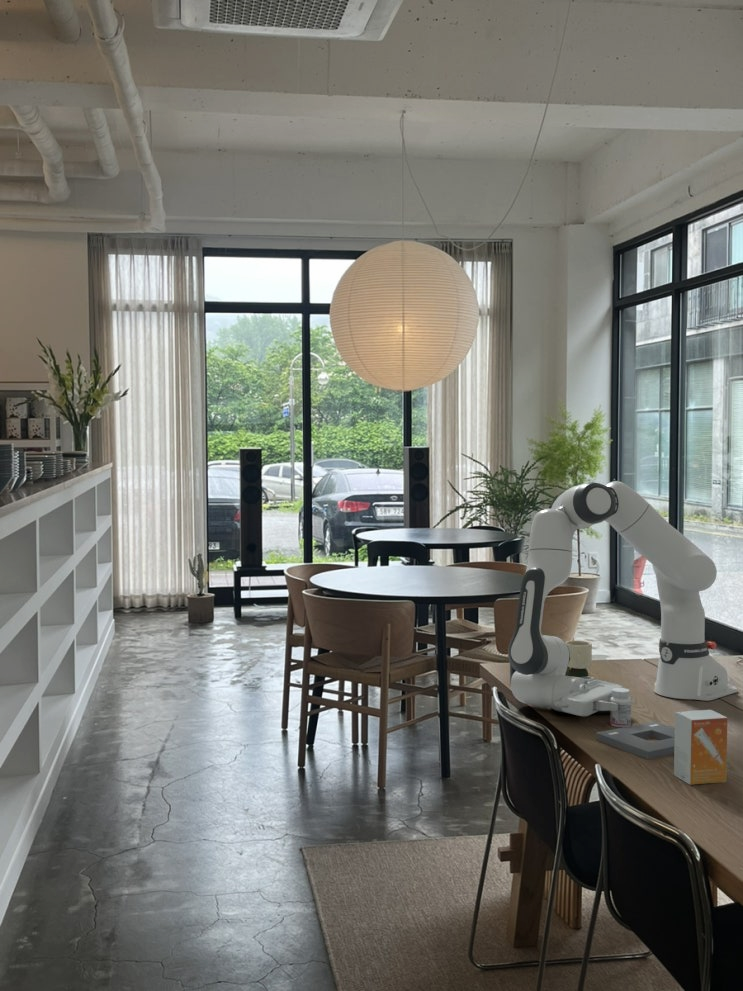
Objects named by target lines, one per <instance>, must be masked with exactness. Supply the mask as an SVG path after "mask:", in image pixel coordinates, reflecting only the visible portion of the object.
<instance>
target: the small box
mask: <svg viewBox="0 0 743 991" xmlns="http://www.w3.org/2000/svg"><path fill="white" fill-rule="evenodd" d="M674 728H675V747H674V754H673V755H674V756H673V757H674V758H673V760H674V761H673V763H674V764H673V774H674V776H675V777H677V778H678V779H680V780H681V781H683V782H684V783H685V784H688V785H690V786H691V785H703V784H716V783H717V784H718V783H726V782H727V763H728V761H727V757H728V756H727V755H728V717H727V716H725V715H723V714H721V713H719V712H717V711H715V710H712V709H702V710H698V709H697V710H687V711H675V712H674Z"/></svg>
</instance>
